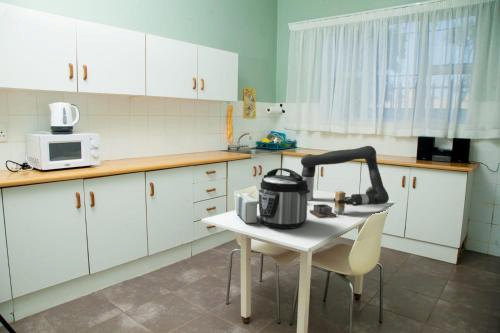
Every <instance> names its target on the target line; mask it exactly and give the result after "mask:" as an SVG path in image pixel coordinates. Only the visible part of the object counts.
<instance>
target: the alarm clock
mask: <svg viewBox="0 0 500 333" xmlns="http://www.w3.org/2000/svg"><path fill="white" fill-rule="evenodd" d="M365 194H373V195H374V194H378V192H377V191H376V190H373V188H372V185H371V186H369V187H368V188H367V189H366V191H365Z"/></svg>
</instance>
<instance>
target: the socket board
mask: <svg viewBox="0 0 500 333" xmlns="http://www.w3.org/2000/svg"><path fill="white" fill-rule="evenodd" d="M309 214H311V215H312V216H314V217H316V218H318V219H322V218H323V219H325V218H335V217H337V214H336V213H334V212H333V207H332V206H331V205H328V204H326V203H322V204H318V203H317V204H314V205H313V209H312V210H311V209H310V210H309Z"/></svg>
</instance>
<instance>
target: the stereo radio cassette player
mask: <svg viewBox="0 0 500 333" xmlns="http://www.w3.org/2000/svg"><path fill="white" fill-rule="evenodd" d="M255 191H256V189H254V190H253V191H252V192H250V193H247V192H246V193H237V194H236V195H235V213H236V214H237V215H238V216H239V217H240V219H242V220H243V222H244V223H245V224H252V223H253V224H254V223H257V218H258V205H259V199H257V198H255V197H254V196H252V194H253V193H254V192H255Z"/></svg>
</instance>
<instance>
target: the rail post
mask: <svg viewBox="0 0 500 333" xmlns="http://www.w3.org/2000/svg"><path fill="white" fill-rule="evenodd" d="M334 193H335V195H334V196H335V197H334V198H335V202H334V210H333V211H334V212H333V213H334V214H336V216H338V215H345V208H346V207H345V205H346V204H338V200H345V197H346V194H347V193H346V192H345V191H342V190H341V191H339V190H337V191H335V192H334Z"/></svg>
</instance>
